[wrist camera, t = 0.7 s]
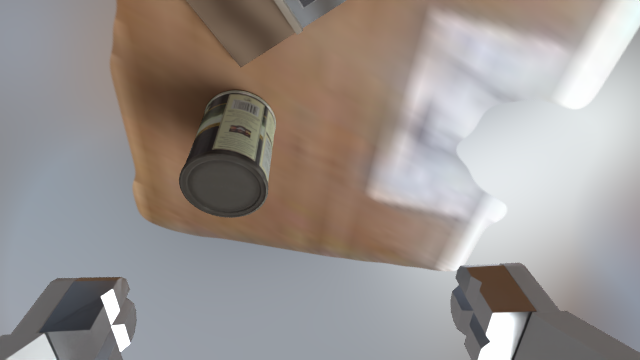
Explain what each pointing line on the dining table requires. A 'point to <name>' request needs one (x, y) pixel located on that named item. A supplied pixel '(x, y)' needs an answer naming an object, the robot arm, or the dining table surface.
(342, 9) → the dining table surface
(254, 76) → the dining table surface
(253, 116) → the coffee can
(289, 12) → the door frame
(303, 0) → the latch bar
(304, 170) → the dining table surface
